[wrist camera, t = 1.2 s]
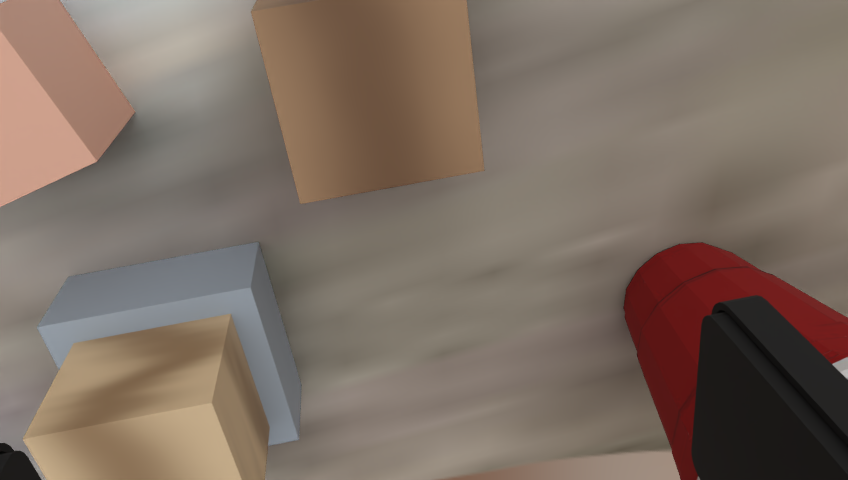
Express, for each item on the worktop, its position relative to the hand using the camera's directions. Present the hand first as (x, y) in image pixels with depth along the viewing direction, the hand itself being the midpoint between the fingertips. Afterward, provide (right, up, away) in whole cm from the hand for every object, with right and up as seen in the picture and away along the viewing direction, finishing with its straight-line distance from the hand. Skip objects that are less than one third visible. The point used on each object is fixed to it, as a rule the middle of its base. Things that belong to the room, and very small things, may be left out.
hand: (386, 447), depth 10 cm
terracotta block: (-14, +9, +15) cm, 22 cm away
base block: (-10, -1, +22) cm, 24 cm away
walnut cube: (-2, +10, +16) cm, 19 cm away
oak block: (-9, -3, +18) cm, 21 cm away
